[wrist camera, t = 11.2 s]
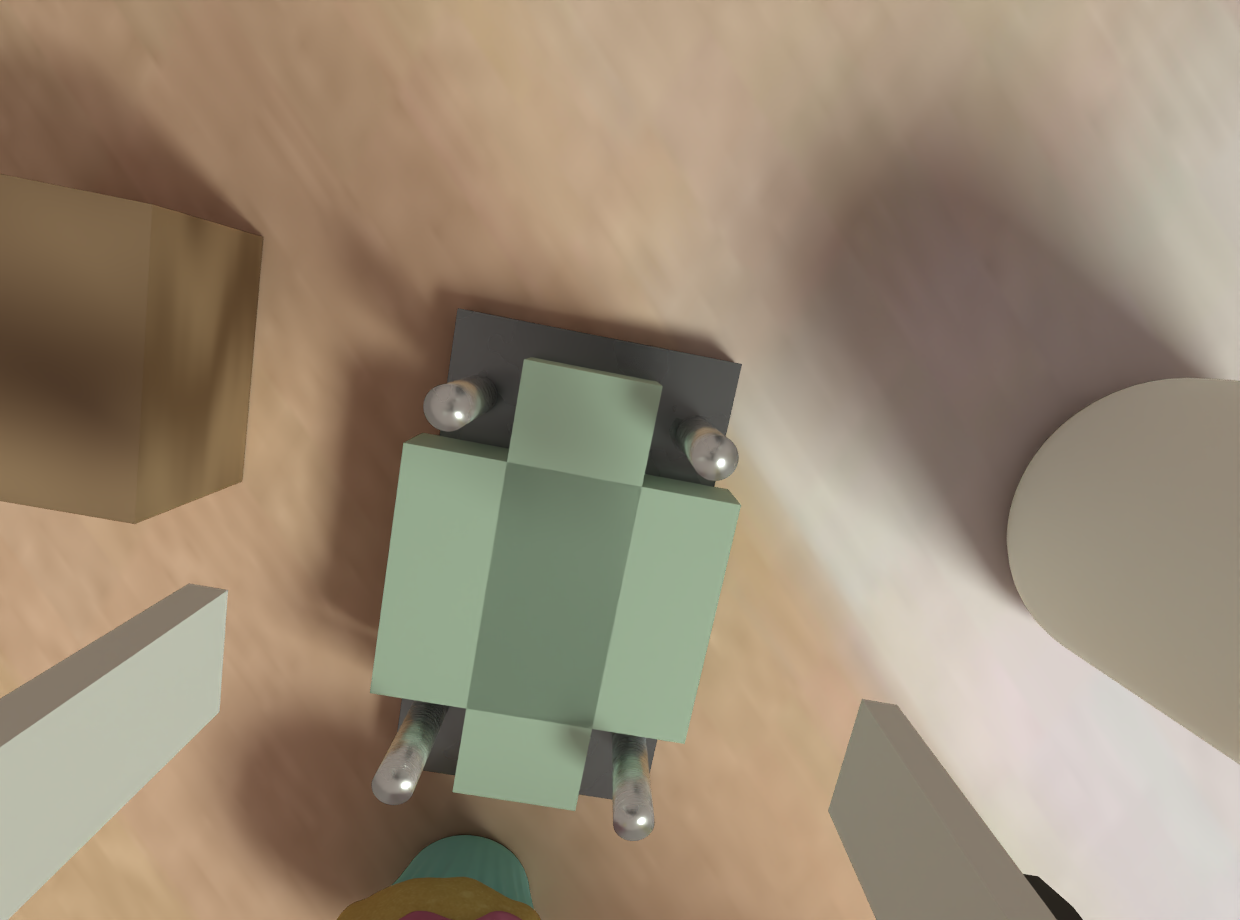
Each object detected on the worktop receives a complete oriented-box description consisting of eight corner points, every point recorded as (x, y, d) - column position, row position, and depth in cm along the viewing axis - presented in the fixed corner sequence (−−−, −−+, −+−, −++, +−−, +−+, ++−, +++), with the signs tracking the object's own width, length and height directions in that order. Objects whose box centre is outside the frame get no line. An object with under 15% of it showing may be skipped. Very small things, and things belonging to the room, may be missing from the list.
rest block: (65, 197, 20) (-114, 150, 15) (263, 237, 20) (152, 204, 15) (57, 448, 21) (-109, 482, 16) (242, 481, 21) (134, 523, 17)
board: (436, 338, 20) (417, 338, 18) (748, 399, 20) (764, 406, 18) (380, 738, 22) (358, 777, 20) (660, 782, 23) (665, 824, 21)
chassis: (464, 309, 21) (420, 300, 16) (735, 362, 21) (775, 370, 16) (401, 747, 23) (347, 856, 19) (641, 784, 24) (650, 899, 19)
